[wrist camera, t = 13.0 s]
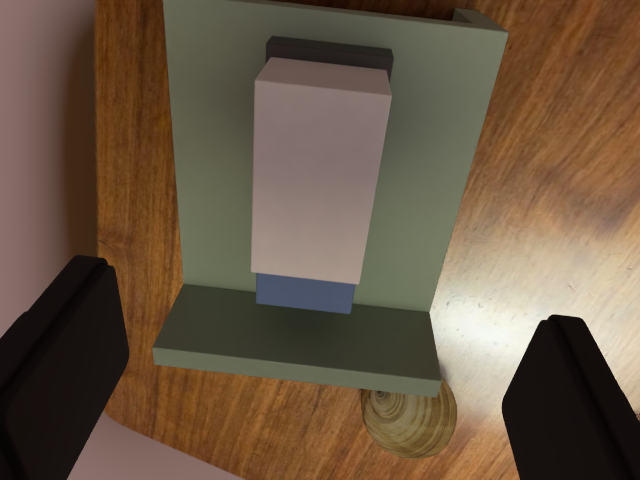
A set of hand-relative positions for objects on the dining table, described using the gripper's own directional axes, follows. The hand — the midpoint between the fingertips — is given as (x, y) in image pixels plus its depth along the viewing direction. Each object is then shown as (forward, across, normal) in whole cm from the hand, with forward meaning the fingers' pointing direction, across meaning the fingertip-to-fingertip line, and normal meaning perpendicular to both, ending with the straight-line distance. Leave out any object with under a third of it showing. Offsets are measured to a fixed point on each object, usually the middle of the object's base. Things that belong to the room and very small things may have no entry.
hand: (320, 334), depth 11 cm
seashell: (+19, -8, +24) cm, 31 cm away
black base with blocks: (+13, +1, +3) cm, 14 cm away
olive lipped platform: (+19, +1, +4) cm, 20 cm away
